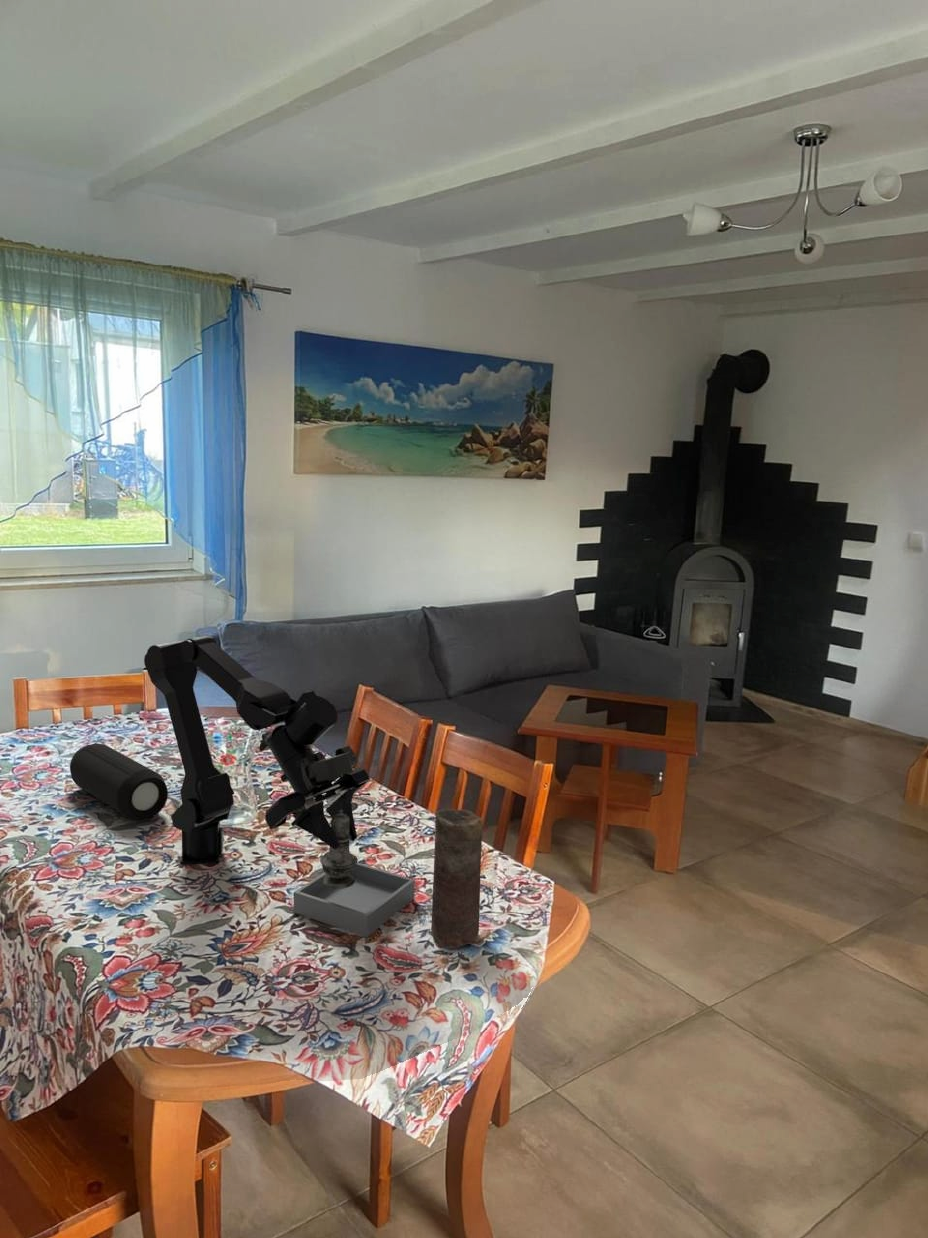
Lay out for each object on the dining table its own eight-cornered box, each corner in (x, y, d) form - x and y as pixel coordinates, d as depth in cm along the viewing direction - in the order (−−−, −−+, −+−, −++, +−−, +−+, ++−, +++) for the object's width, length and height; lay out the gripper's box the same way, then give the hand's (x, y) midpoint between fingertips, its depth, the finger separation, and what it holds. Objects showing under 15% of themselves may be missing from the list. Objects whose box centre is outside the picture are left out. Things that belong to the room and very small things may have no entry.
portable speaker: (172, 816, 178) (171, 768, 176) (124, 830, 171) (123, 780, 169) (111, 780, 195) (110, 736, 193) (66, 791, 188) (64, 745, 186)
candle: (429, 924, 142) (434, 804, 138) (475, 924, 142) (481, 805, 139) (431, 951, 134) (437, 825, 130) (480, 950, 135) (487, 825, 131)
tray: (293, 912, 143) (293, 892, 143) (344, 877, 156) (345, 858, 155) (366, 937, 137) (367, 916, 136) (414, 899, 149) (414, 879, 149)
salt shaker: (356, 889, 139) (360, 816, 137) (318, 889, 138) (321, 816, 136) (357, 872, 145) (360, 802, 143) (320, 872, 144) (322, 801, 142)
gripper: (279, 747, 132) (332, 839, 128) (363, 720, 147) (413, 801, 143) (242, 784, 138) (292, 873, 134) (327, 754, 153) (374, 833, 149)
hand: (346, 843), depth 140 cm, fingers closed on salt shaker, 4 cm apart
